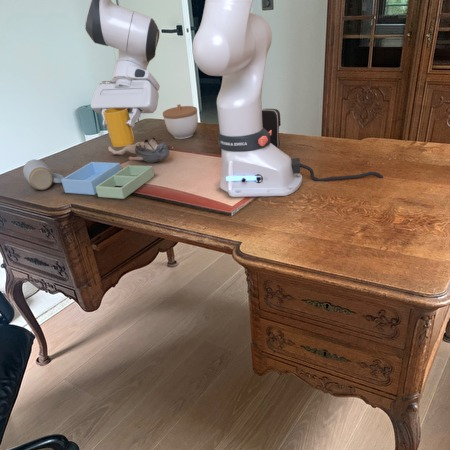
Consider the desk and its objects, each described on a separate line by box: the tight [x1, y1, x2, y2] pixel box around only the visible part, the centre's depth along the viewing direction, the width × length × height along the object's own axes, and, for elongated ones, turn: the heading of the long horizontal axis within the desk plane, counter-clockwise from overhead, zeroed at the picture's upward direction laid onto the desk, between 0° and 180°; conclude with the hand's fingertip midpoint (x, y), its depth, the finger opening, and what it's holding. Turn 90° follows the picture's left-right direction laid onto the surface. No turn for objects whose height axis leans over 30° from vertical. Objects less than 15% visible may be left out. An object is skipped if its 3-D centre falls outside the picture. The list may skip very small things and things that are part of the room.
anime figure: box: [107, 137, 170, 164], centre depth 146 cm, size 10×7×30 cm
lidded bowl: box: [162, 103, 199, 140], centre depth 162 cm, size 13×13×11 cm
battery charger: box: [262, 108, 282, 148], centre depth 142 cm, size 7×4×11 cm, turn 58°
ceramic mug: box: [22, 158, 65, 191], centre depth 134 cm, size 11×8×8 cm
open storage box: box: [61, 161, 122, 196], centre depth 132 cm, size 11×15×4 cm
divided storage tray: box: [96, 164, 156, 200], centre depth 128 cm, size 9×17×3 cm, turn 157°
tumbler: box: [103, 108, 136, 148], centre depth 123 cm, size 7×7×9 cm
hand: (118, 126), depth 122 cm, fingers closed on tumbler, 6 cm apart
